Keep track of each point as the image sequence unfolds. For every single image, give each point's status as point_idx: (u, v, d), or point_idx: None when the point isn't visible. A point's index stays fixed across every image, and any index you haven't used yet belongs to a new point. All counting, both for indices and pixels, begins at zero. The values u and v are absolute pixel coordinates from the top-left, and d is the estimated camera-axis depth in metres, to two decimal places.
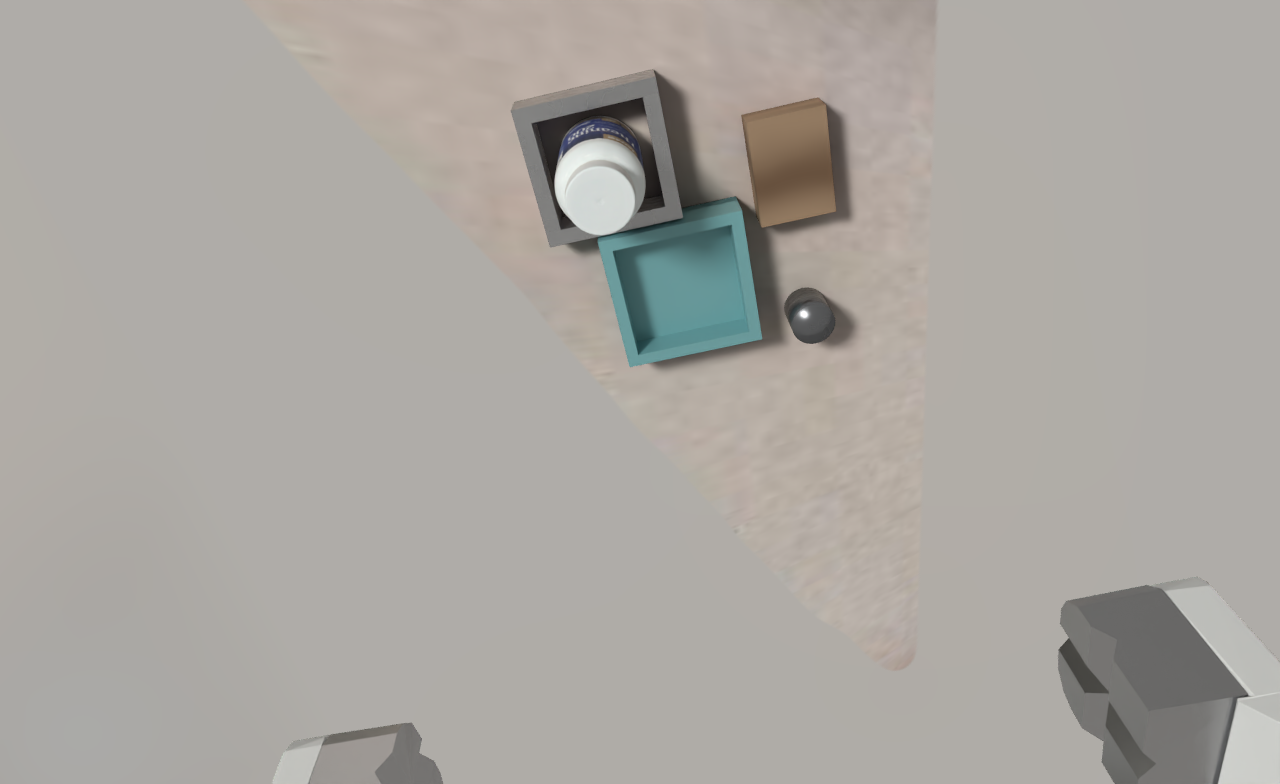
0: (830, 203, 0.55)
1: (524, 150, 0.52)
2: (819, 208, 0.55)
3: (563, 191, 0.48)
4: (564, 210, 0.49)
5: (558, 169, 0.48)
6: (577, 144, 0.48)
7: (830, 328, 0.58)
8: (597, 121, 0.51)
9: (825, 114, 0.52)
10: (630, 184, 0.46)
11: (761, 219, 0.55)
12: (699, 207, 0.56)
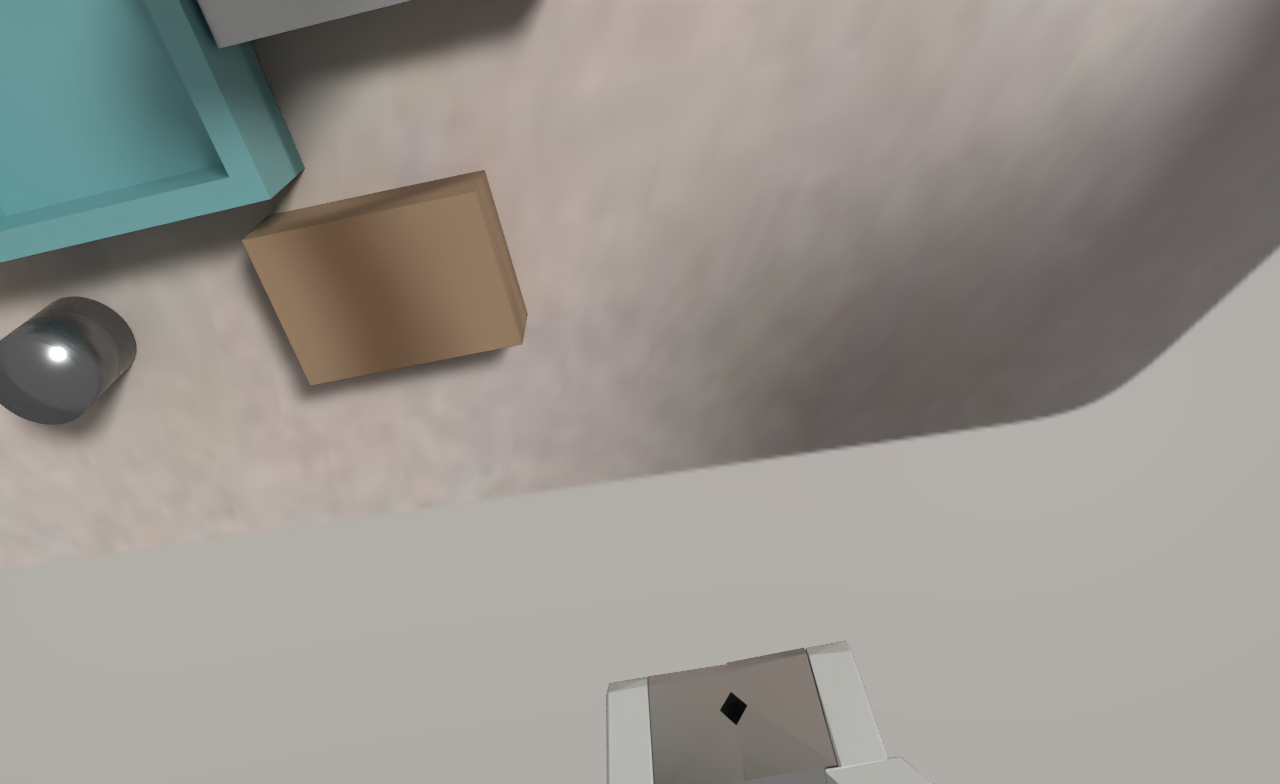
0: (325, 373, 0.26)
1: None
2: (310, 354, 0.26)
3: None
4: None
5: None
6: None
7: (39, 416, 0.26)
8: None
9: (504, 345, 0.26)
10: None
11: (261, 238, 0.24)
12: (259, 87, 0.23)
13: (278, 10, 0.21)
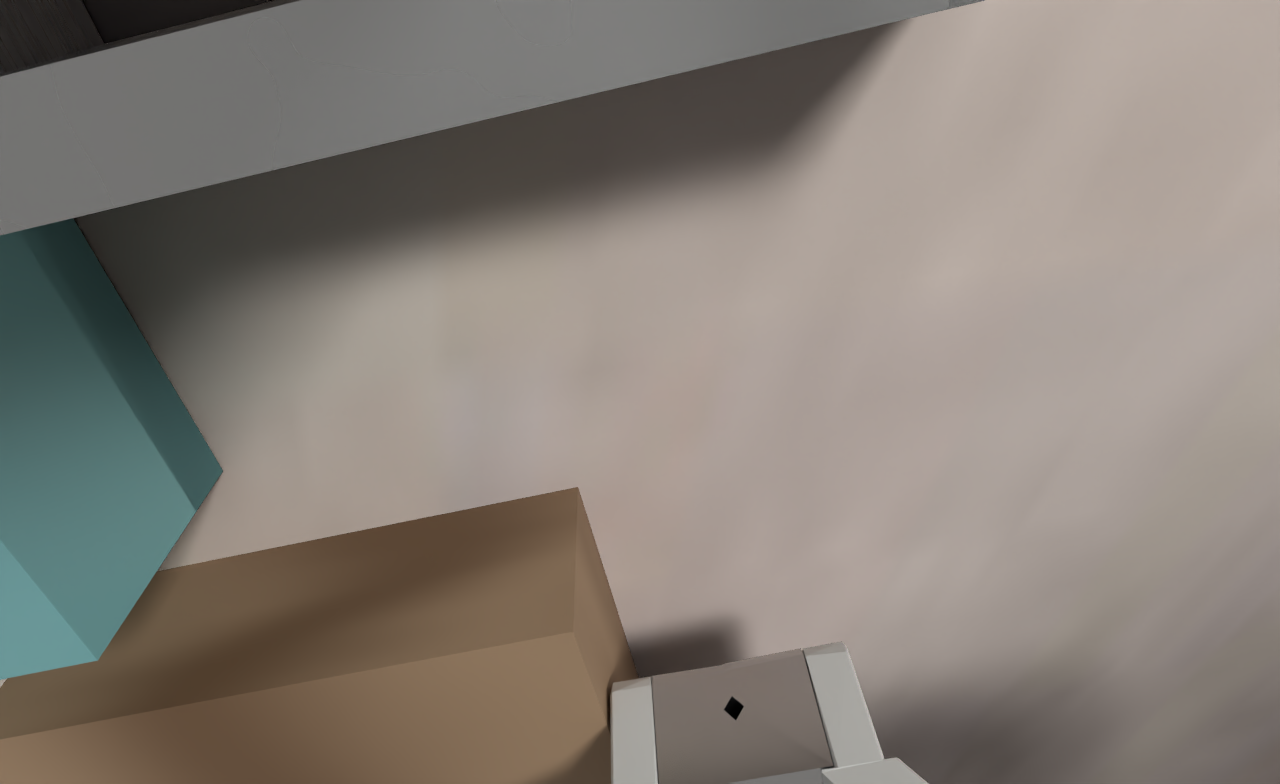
0: None
1: None
2: None
3: None
4: None
5: None
6: None
7: None
8: None
9: None
10: None
11: (5, 743, 0.09)
12: (79, 315, 0.08)
13: (71, 143, 0.06)
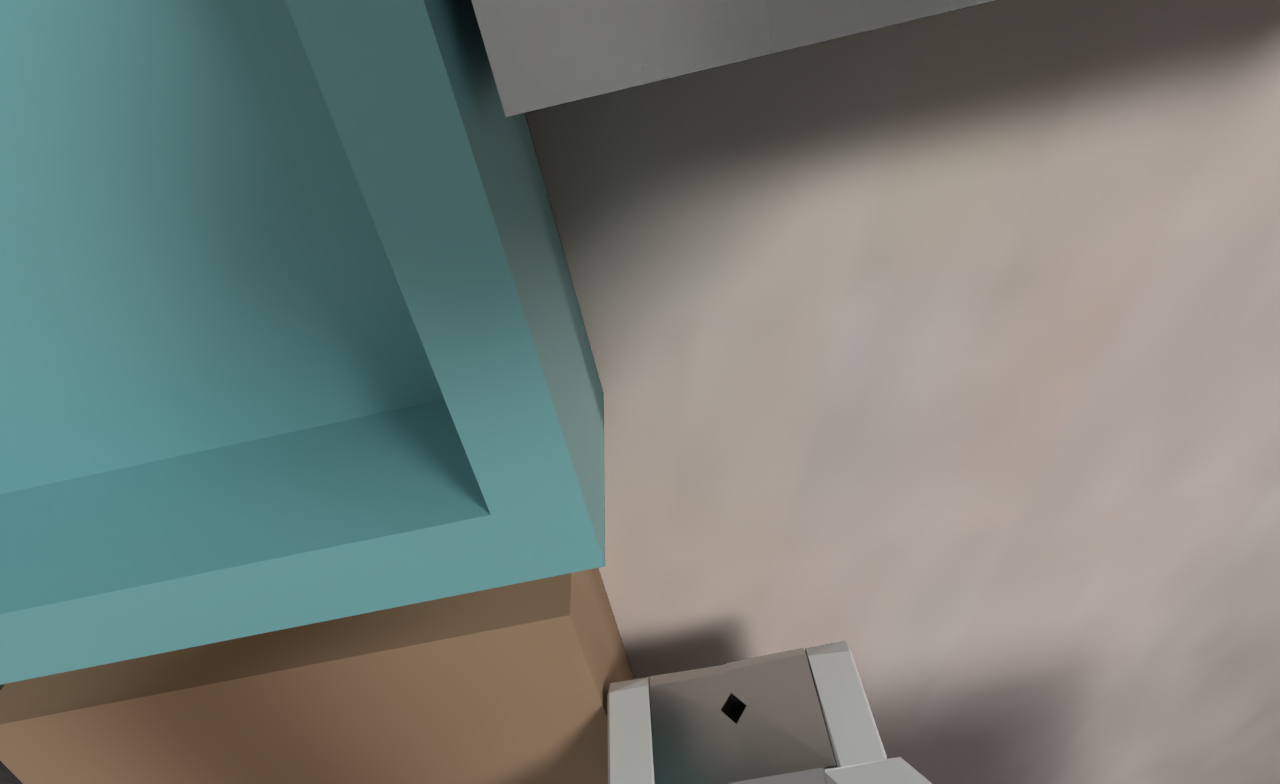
0: None
1: None
2: None
3: None
4: None
5: None
6: None
7: None
8: None
9: None
10: None
11: (20, 725, 0.09)
12: (542, 211, 0.08)
13: None
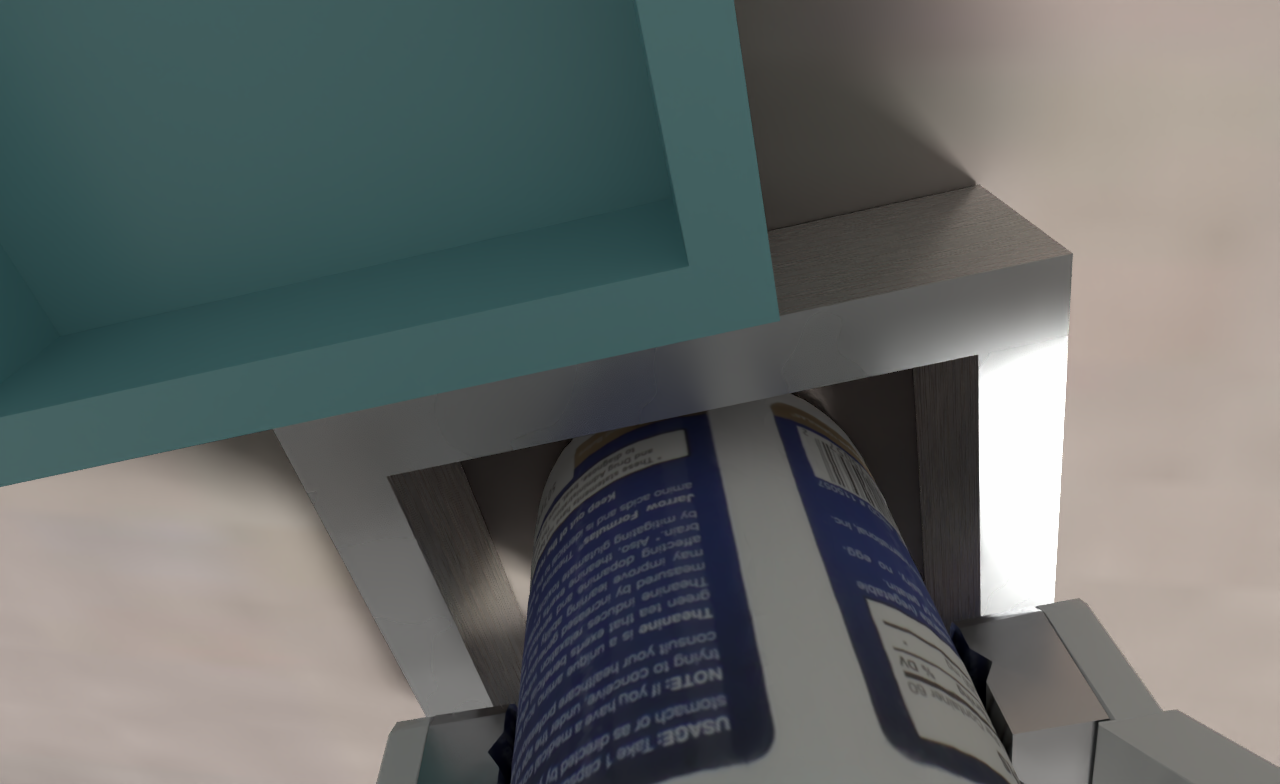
0: None
1: None
2: None
3: None
4: None
5: None
6: None
7: None
8: None
9: None
10: None
11: None
12: None
13: (372, 537, 0.10)
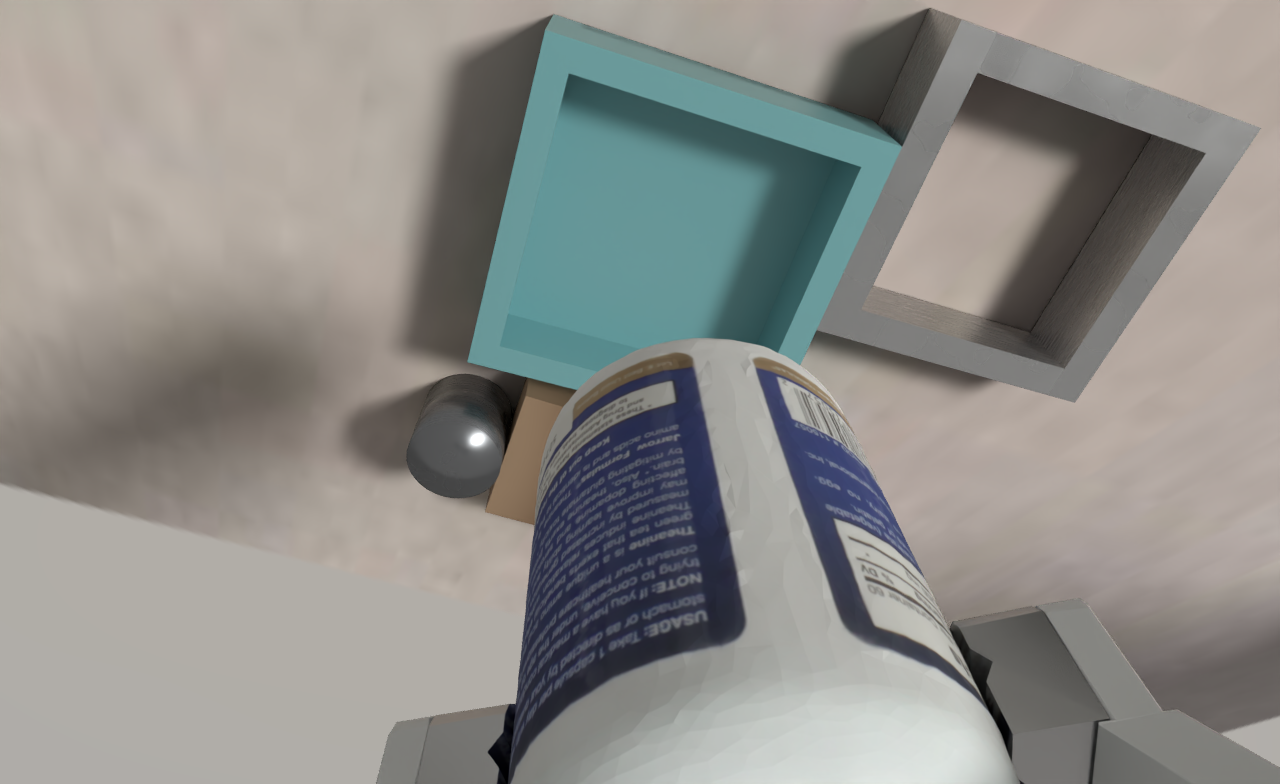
0: (504, 509, 0.29)
1: (1180, 105, 0.22)
2: (506, 492, 0.28)
3: None
4: None
5: None
6: None
7: (430, 483, 0.27)
8: None
9: None
10: None
11: (542, 402, 0.27)
12: None
13: (878, 331, 0.25)
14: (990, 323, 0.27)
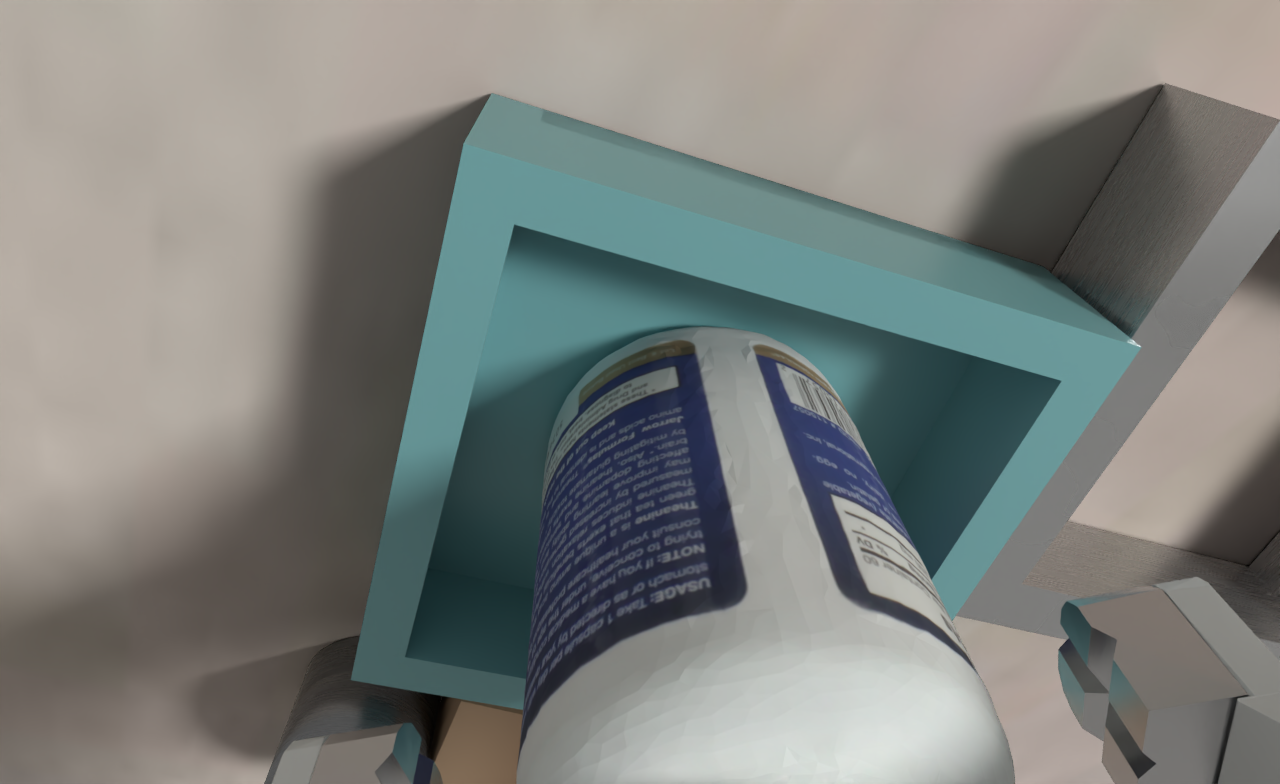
0: None
1: None
2: None
3: None
4: (997, 764, 0.08)
5: None
6: None
7: None
8: None
9: None
10: None
11: (488, 709, 0.16)
12: None
13: (1046, 613, 0.15)
14: (1194, 560, 0.17)
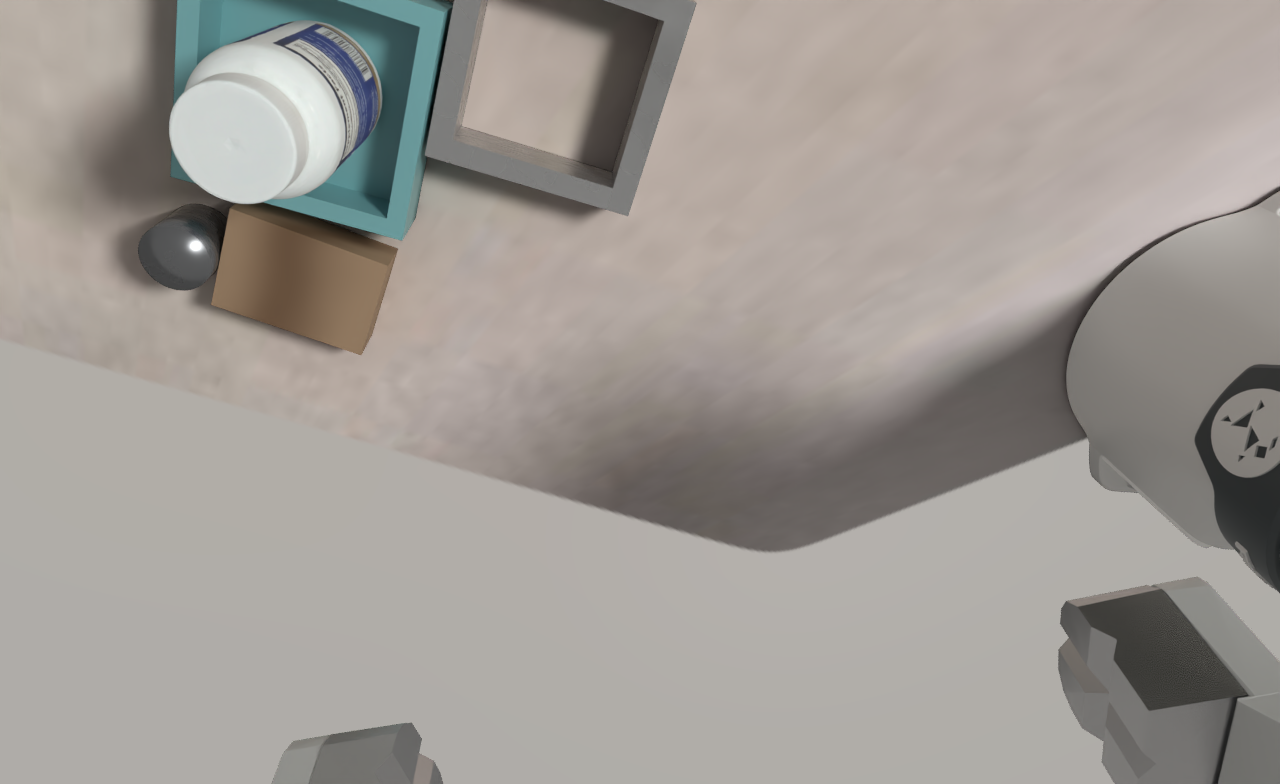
0: (226, 303, 0.39)
1: None
2: (225, 288, 0.38)
3: (318, 126, 0.29)
4: (313, 87, 0.28)
5: (337, 154, 0.30)
6: (317, 186, 0.31)
7: (160, 277, 0.37)
8: None
9: (349, 350, 0.40)
10: (189, 175, 0.27)
11: (243, 214, 0.36)
12: (422, 170, 0.37)
13: (470, 157, 0.35)
14: (577, 163, 0.38)
